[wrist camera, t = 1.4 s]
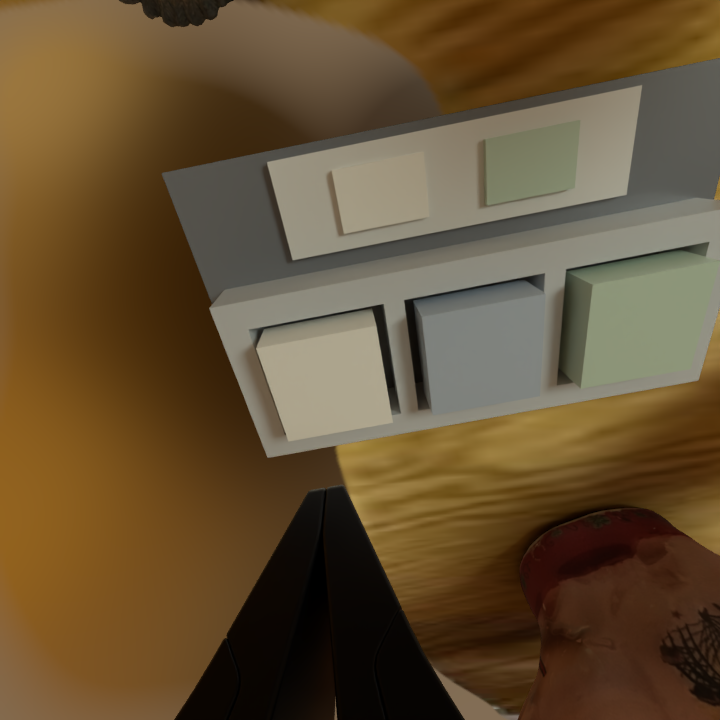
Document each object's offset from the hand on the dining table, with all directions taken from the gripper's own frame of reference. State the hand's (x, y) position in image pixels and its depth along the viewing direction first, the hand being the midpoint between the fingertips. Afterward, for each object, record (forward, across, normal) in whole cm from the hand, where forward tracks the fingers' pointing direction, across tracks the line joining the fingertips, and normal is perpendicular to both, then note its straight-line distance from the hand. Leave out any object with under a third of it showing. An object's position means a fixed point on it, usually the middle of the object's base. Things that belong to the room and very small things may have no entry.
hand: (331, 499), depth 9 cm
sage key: (+7, -11, 0) cm, 13 cm away
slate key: (+7, -5, 0) cm, 8 cm away
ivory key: (+7, 0, 0) cm, 7 cm away
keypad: (+9, -5, -2) cm, 11 cm away
